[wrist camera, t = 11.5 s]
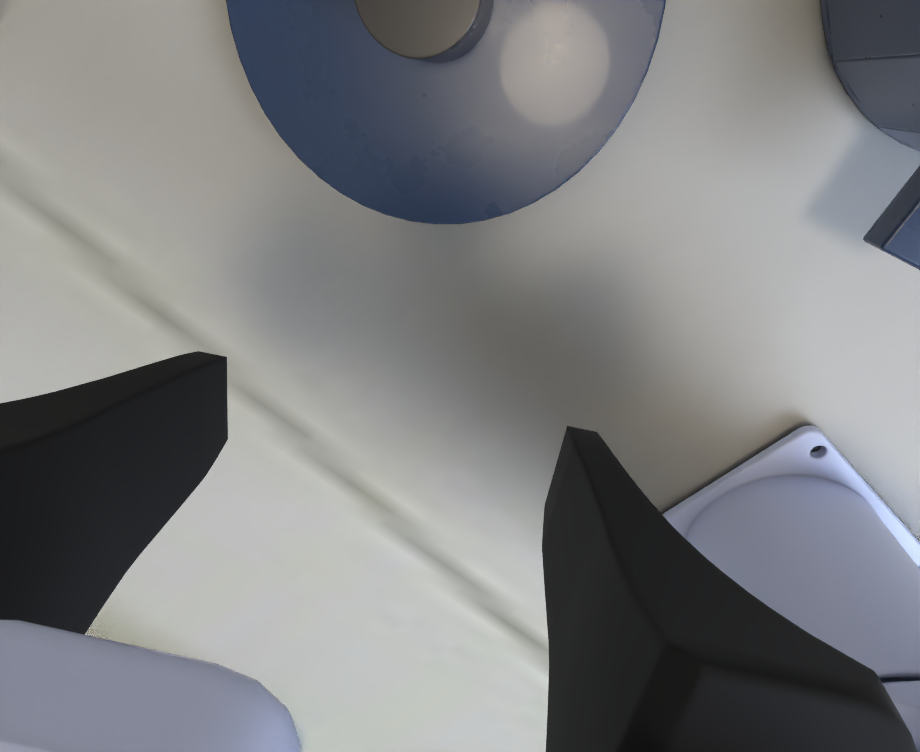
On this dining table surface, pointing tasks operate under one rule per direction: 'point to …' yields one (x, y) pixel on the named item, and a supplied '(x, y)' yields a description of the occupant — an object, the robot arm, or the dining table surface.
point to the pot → (883, 96)
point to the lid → (445, 94)
